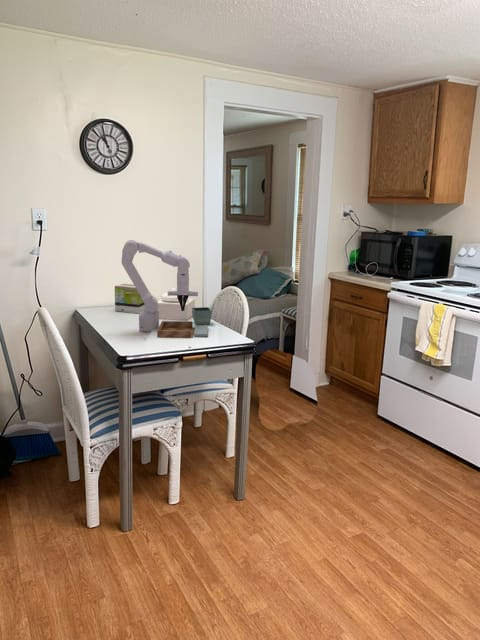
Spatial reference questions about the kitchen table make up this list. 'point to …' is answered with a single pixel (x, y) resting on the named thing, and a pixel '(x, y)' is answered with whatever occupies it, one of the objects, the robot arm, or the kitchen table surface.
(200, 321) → the flower pot
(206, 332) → the panel
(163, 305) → the white lidded container
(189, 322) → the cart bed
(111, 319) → the kitchen table surface
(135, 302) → the tea box
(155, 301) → the robot arm
